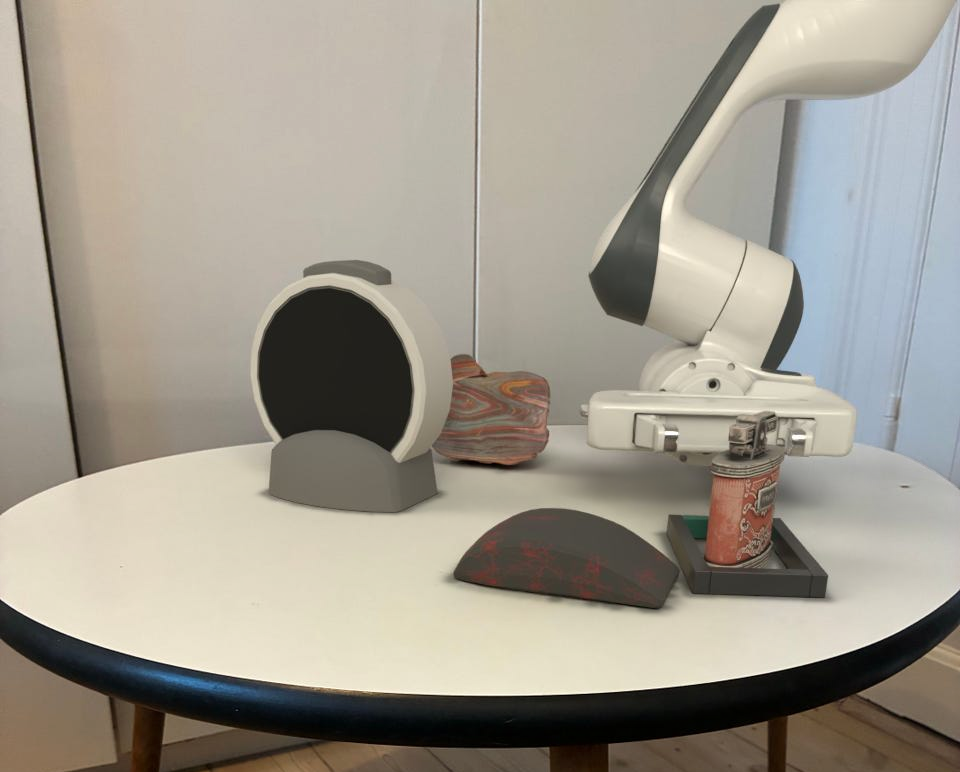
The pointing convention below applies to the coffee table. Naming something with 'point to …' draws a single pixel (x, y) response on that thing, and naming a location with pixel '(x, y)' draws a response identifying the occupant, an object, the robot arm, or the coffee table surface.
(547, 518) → the computer mouse
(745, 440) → the lighter
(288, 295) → the alarm clock
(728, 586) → the frame
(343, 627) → the coffee table surface
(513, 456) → the stone
